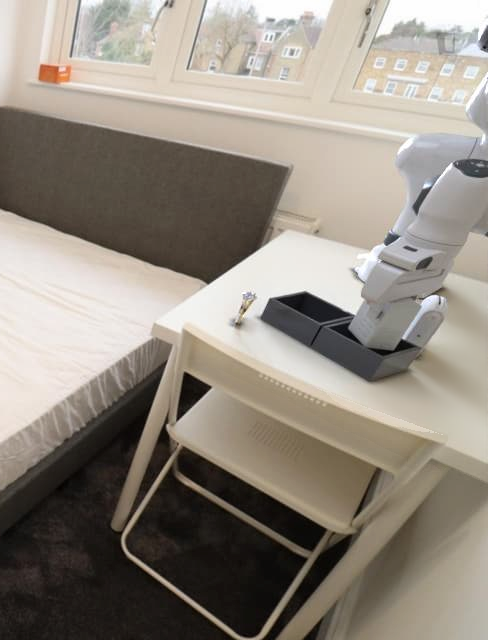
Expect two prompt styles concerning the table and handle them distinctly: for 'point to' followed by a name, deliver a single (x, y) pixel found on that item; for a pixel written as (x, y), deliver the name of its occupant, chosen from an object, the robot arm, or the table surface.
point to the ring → (245, 305)
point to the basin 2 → (363, 352)
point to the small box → (384, 323)
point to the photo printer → (427, 321)
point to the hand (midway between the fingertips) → (385, 314)
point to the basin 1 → (302, 315)
